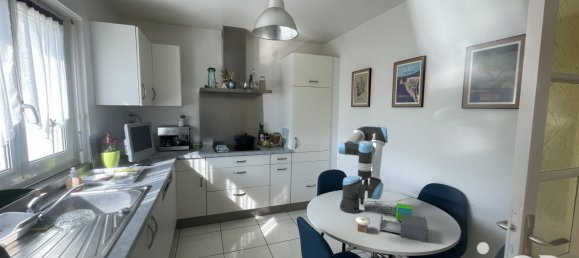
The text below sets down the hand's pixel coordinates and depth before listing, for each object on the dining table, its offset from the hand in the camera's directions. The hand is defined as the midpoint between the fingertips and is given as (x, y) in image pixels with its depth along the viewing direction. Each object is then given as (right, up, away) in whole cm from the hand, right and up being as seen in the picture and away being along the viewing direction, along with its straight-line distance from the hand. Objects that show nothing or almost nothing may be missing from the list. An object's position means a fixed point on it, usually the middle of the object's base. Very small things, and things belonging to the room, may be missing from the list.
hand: (363, 205), depth 137 cm
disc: (0, -10, +1) cm, 10 cm away
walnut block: (0, -15, +2) cm, 15 cm away
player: (+28, -16, -2) cm, 32 cm away
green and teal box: (+31, -15, +17) cm, 38 cm away
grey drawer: (+18, -15, +3) cm, 23 cm away
